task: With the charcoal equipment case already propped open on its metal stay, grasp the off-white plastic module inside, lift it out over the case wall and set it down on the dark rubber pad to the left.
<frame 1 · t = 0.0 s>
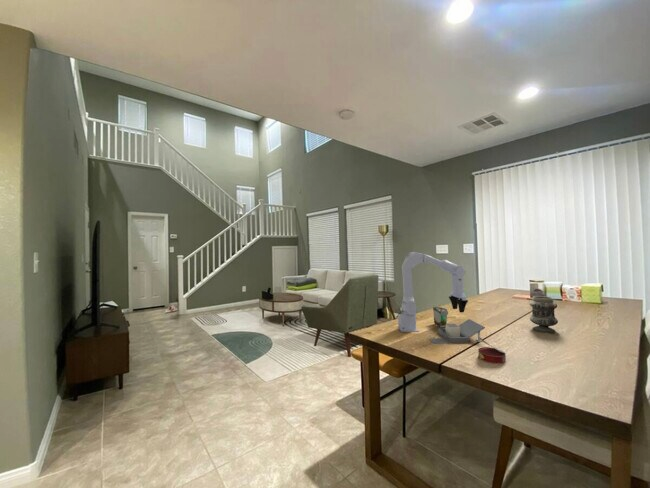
hand: (458, 310, 156), 10 cm above the table, fingers open, 7 cm apart
dark ornate urn: (543, 330, 150), on the table
pad: (438, 341, 137), on the table
module: (452, 337, 141), resting on case
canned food: (491, 359, 116), on the table
case: (452, 337, 141), on the table
food container: (442, 326, 161), on the table
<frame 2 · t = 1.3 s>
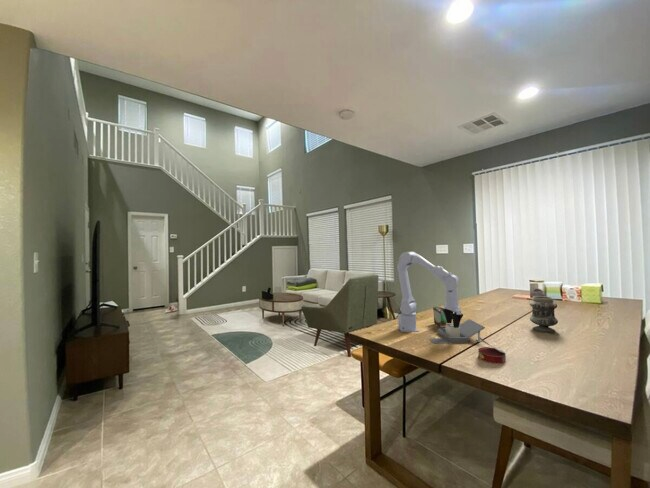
hand: (452, 325, 141), 7 cm above the table, fingers open, 7 cm apart
nothing on the table moved.
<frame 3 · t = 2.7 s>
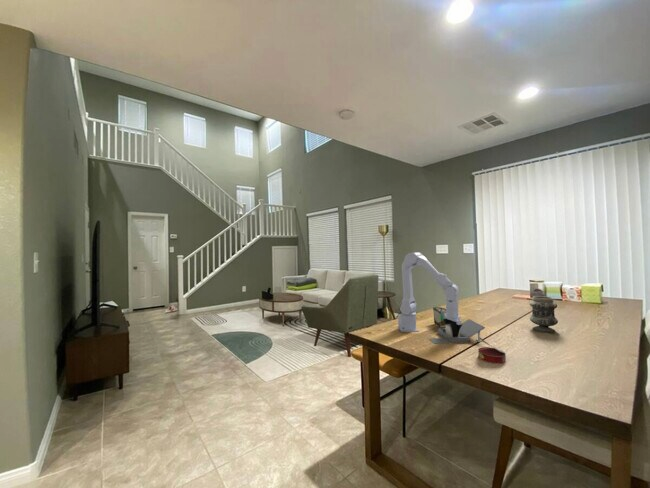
hand: (452, 334, 141), 2 cm above the table, fingers closed on module, 5 cm apart
module: (452, 337, 141), resting on case, touching gripper
everything else where it was.
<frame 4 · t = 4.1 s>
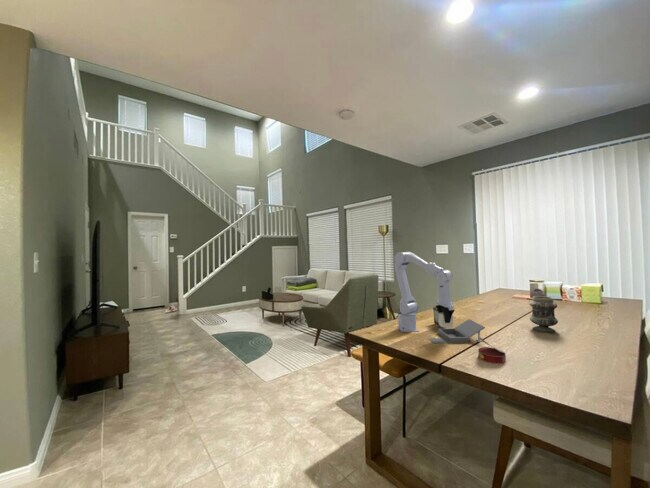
hand: (444, 321, 139), 9 cm above the table, fingers closed on module, 5 cm apart
module: (445, 326, 139), point 7 cm above the table, touching gripper
everything else where it was.
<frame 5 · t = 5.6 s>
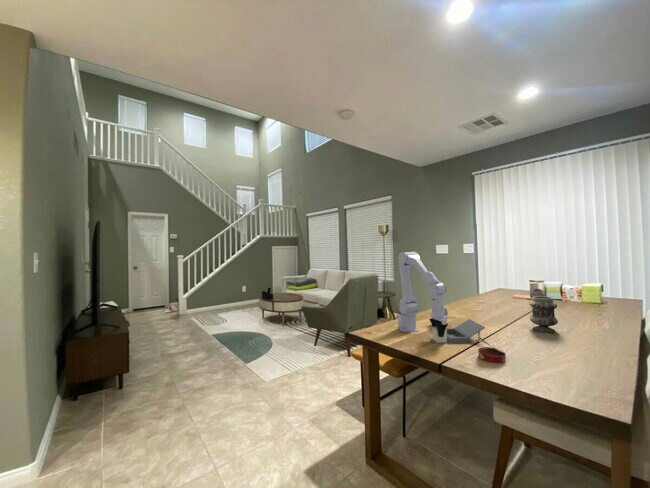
hand: (438, 334, 137), 3 cm above the table, fingers closed on module, 5 cm apart
module: (439, 340, 137), resting on pad, touching gripper
everything else where it was.
when the fingers open (3 cm above the table, at t = 6.2 s): module stays where it is, resting on pad.
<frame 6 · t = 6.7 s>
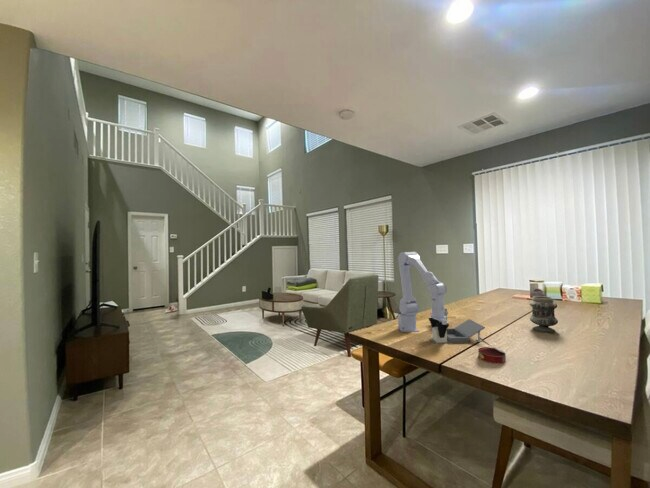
hand: (438, 334, 137), 3 cm above the table, fingers open, 7 cm apart
module: (439, 340, 137), resting on pad
everything else where it was.
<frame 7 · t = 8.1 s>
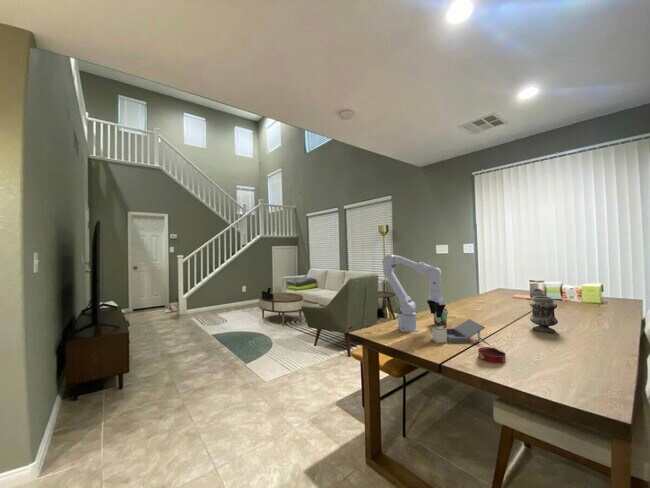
hand: (436, 315, 148), 10 cm above the table, fingers open, 7 cm apart
nothing on the table moved.
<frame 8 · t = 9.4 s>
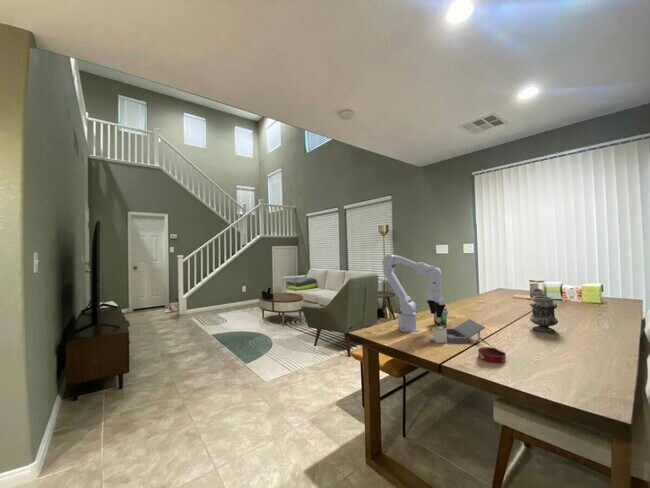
hand: (436, 315, 148), 10 cm above the table, fingers open, 7 cm apart
nothing on the table moved.
at the end: module inside the target area on the pad (0.5 cm from its centre), point 0.3 cm above the pad's base; module tilted 0°; the gripper is holding nothing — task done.
